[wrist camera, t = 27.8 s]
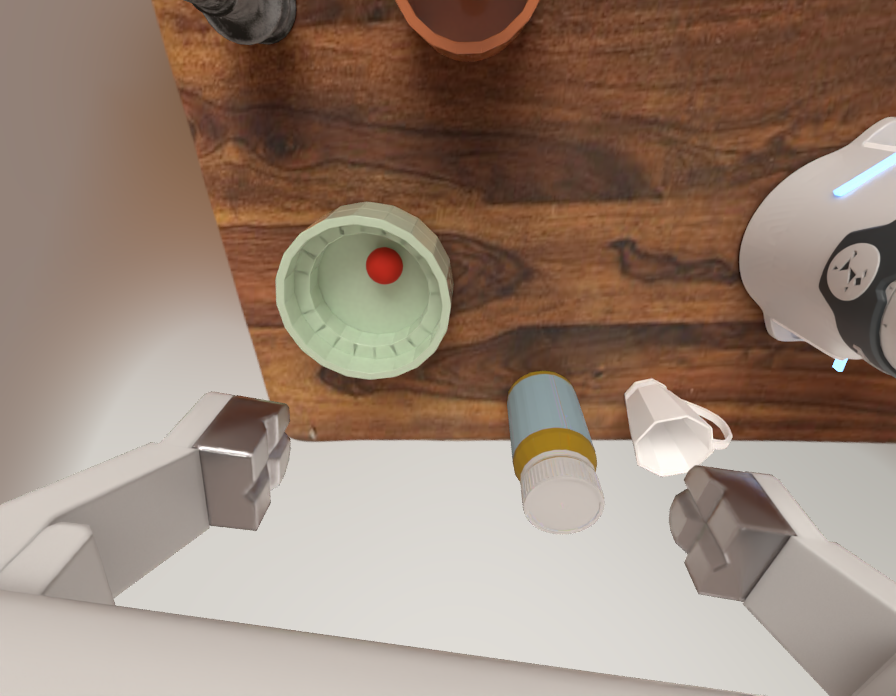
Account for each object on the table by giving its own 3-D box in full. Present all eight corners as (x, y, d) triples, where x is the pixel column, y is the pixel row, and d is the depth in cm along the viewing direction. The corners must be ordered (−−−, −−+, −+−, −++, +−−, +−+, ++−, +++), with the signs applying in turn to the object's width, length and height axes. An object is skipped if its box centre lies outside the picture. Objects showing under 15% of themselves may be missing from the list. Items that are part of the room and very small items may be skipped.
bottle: (512, 363, 48) (526, 467, 34) (581, 371, 48) (621, 478, 34) (501, 419, 51) (510, 532, 38) (566, 426, 51) (597, 543, 38)
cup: (620, 362, 47) (646, 410, 40) (720, 374, 47) (764, 424, 40) (602, 419, 50) (623, 473, 43) (696, 430, 50) (732, 485, 43)
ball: (390, 297, 41) (399, 279, 43) (403, 267, 39) (411, 250, 41) (356, 281, 40) (367, 264, 43) (367, 250, 39) (378, 235, 41)
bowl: (464, 214, 41) (462, 232, 36) (441, 357, 48) (437, 390, 42) (299, 188, 41) (272, 202, 35) (300, 335, 47) (277, 365, 42)
